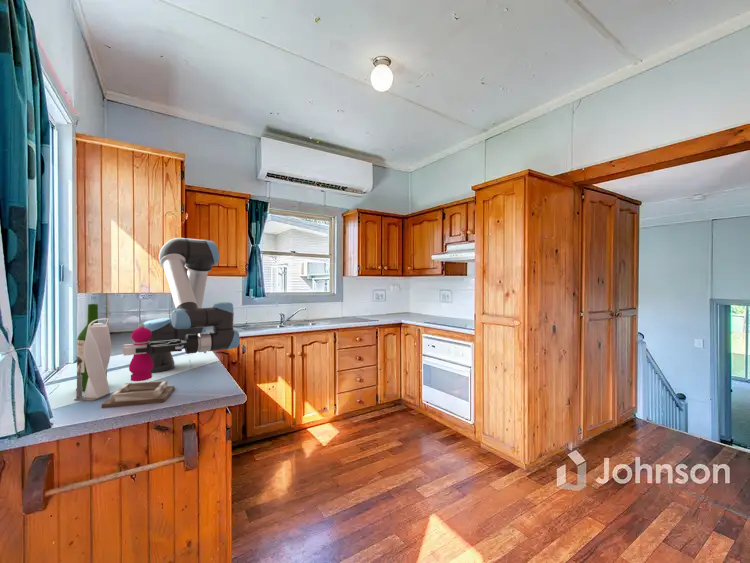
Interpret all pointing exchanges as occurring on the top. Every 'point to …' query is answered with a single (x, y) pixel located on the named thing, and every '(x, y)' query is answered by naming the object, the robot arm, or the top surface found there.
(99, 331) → the skyscraper
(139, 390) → the stand
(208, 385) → the top surface
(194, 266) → the robot arm
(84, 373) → the wine bottle
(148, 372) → the pepper mill
